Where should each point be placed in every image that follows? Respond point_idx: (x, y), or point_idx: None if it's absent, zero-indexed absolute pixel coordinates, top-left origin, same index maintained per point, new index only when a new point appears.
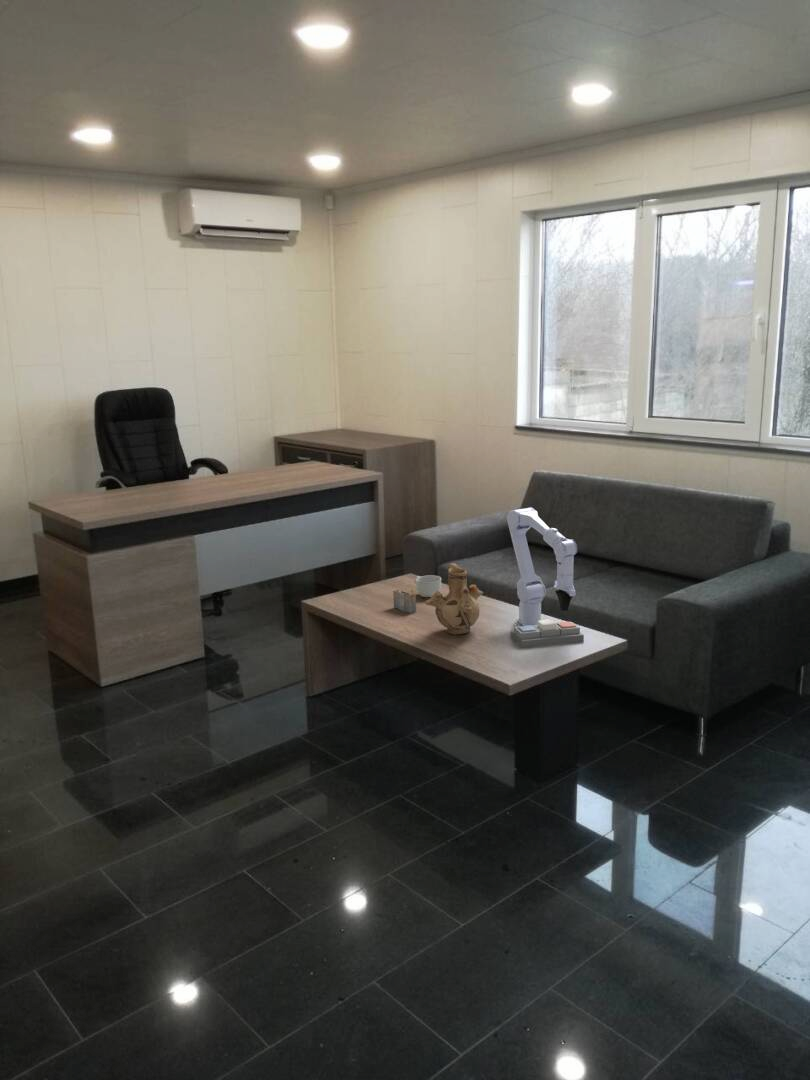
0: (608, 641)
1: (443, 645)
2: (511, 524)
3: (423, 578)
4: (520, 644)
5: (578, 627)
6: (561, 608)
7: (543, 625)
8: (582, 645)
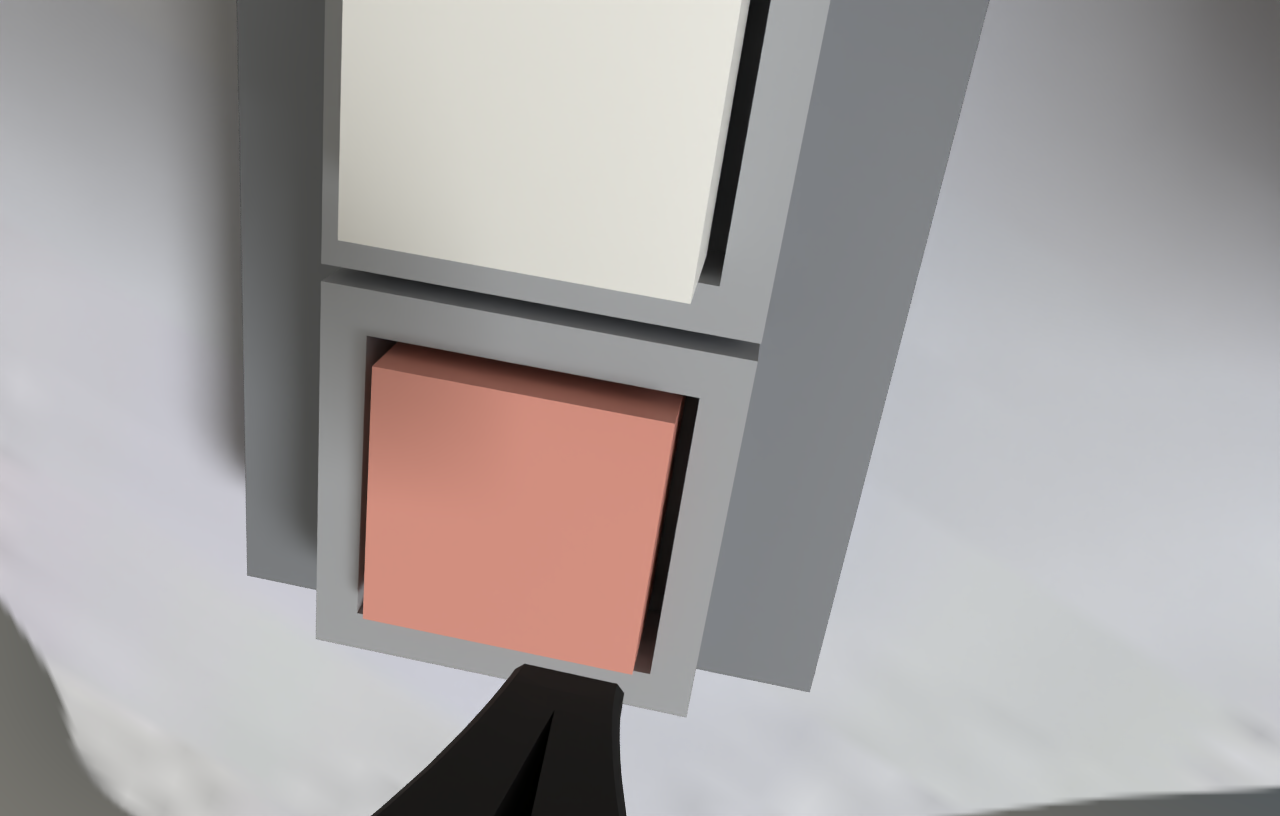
0: (216, 770)
1: None
2: None
3: None
4: None
5: (331, 623)
6: (532, 696)
7: None
8: (150, 409)
